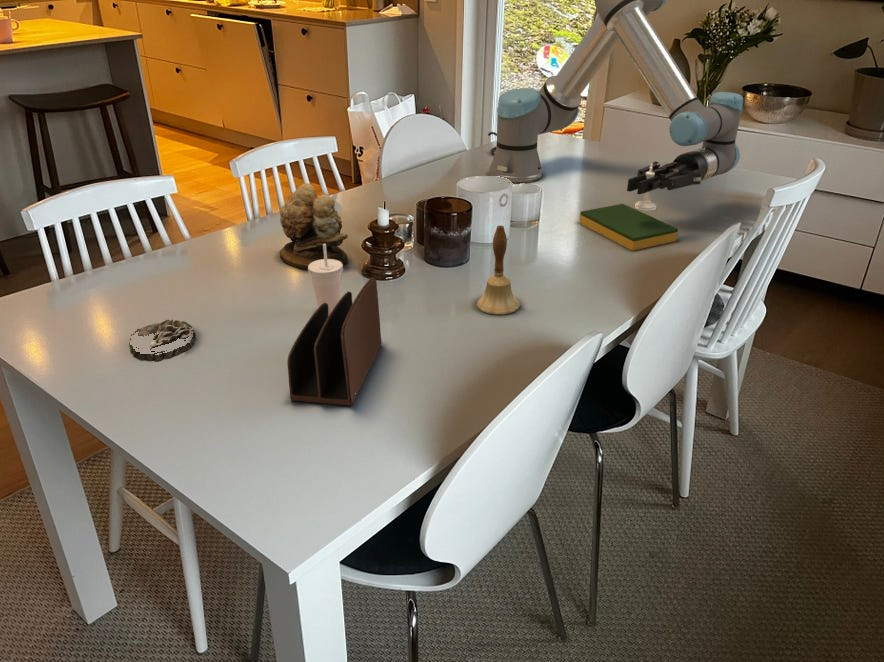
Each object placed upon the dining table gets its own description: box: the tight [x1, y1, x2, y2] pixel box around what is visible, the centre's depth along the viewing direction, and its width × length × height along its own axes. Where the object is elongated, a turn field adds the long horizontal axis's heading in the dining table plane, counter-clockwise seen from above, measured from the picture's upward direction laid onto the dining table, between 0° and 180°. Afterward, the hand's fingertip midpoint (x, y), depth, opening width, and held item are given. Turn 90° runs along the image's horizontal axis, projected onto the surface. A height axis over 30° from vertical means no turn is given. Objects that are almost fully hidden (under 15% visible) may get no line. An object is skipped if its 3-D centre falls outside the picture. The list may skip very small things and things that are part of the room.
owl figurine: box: [278, 182, 349, 271], centre depth 159 cm, size 18×12×17 cm, turn 57°
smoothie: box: [307, 244, 344, 316], centre depth 138 cm, size 6×6×14 cm
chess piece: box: [634, 163, 657, 212], centre depth 169 cm, size 5×5×10 cm
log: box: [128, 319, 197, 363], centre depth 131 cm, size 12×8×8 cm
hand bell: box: [476, 224, 521, 316], centre depth 140 cm, size 8×8×16 cm
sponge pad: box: [579, 203, 679, 251], centre depth 178 cm, size 20×13×3 cm, turn 27°
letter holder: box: [286, 277, 383, 407], centre depth 119 cm, size 10×20×14 cm, turn 171°
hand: (634, 186), depth 166 cm, fingers closed on chess piece, 2 cm apart
